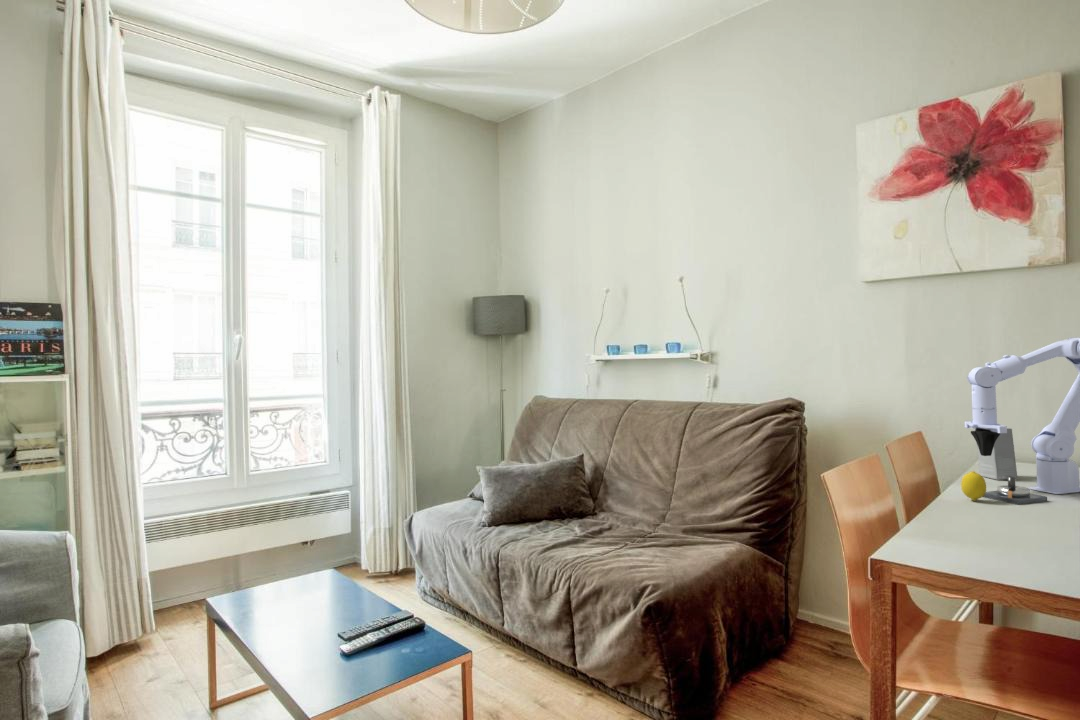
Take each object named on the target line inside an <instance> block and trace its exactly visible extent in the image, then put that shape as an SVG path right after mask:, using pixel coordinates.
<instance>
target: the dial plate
mask: <svg viewBox="0 0 1080 720" xmlns="http://www.w3.org/2000/svg"><path fill="white" fill-rule="evenodd" d="M982 498H986V499H992V500H995V501H999V502H1005V503H1008V504H1009V503H1010V504H1013V505H1017V506H1018V505H1025V504H1026V505H1027V504H1035V503H1043V502H1048V496H1047V495H1041V494H1037V493H1036V494H1035V493H1031V492H1030V496H1025V497H1017V496H1012V491H1011V490H1008V496H1007V495H1002V494H999V493H997V490H991V491H986V493H985V495H984V496H983V497H982Z"/></svg>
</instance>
